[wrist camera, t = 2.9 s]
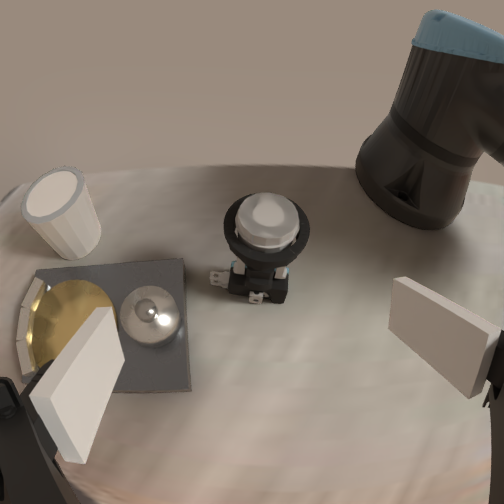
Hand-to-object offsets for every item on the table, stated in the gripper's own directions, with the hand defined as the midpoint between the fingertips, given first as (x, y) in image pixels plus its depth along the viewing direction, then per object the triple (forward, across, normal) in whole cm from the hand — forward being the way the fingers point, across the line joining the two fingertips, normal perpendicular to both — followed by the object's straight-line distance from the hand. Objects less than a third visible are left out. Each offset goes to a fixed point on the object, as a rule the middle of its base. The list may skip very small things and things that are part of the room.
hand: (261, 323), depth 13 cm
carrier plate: (+11, -12, -5) cm, 17 cm away
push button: (+13, +1, -3) cm, 14 cm away
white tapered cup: (+18, -16, +2) cm, 24 cm away
